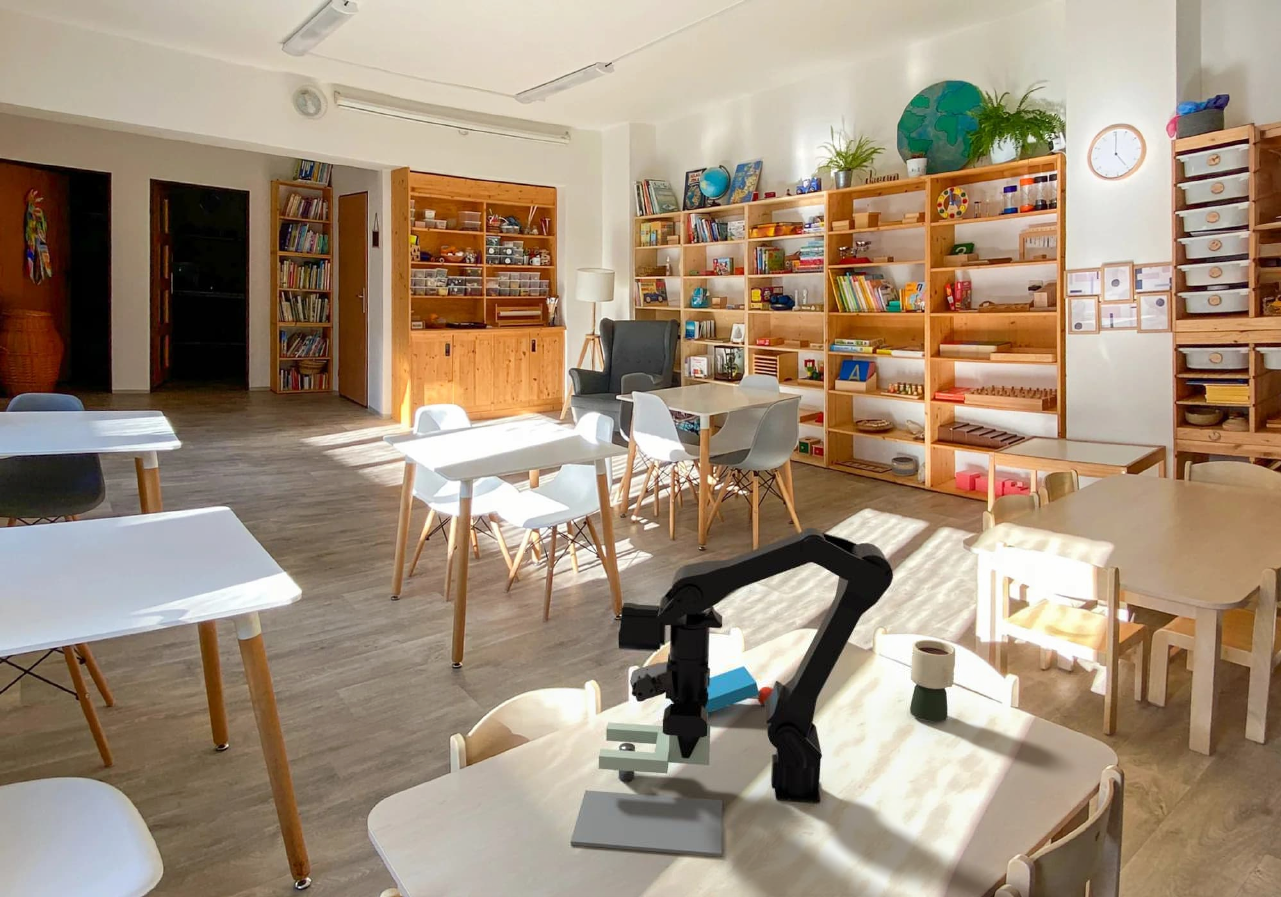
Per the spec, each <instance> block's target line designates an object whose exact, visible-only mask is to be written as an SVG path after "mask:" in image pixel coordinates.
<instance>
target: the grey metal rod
mask: <svg viewBox="0 0 1281 897" xmlns="http://www.w3.org/2000/svg"><path fill="white" fill-rule="evenodd" d="M618 750H623V751H636V746H635V744H633V743H632V742H622V743H621V744H619V746H618ZM635 772H636V771H623V770H618V779H619V781H622V782H624V783H628V782H629V783H630V782H632V781H634V780H635V775H636V774H635Z"/></svg>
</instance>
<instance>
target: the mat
mask: <svg viewBox="0 0 1281 897" xmlns="http://www.w3.org/2000/svg"><path fill="white" fill-rule="evenodd" d="M722 839H723V800H721V799H710V798H709V799H708V798H707V799H706V798H695V797H694V798H693V797H681V796H679V797H678V796H667V795H656V794H655V795H654V794H641V793H640V794H639V793H629V792H628V793H625V792H613V791H611V792H610V791H600V790H588V789H587V790H584V794H583V798H582V801H581V804H580V808H579V811H578V816H577V819H576V821H575V825H574V829H573V833H572V836H571V839H570V845H571V846H585V847H593V848H594V847H596V848H597V847H598V848H607V849H610V848H611V849H620V850H631V851H645V852H646V851H647V852H658V853H670V854H682V855H693V856H694V855H695V856H705V857H706V856H707V857H718V858H721V857H722V854H723V853H722V851H723V848H722V846H723V843H722V841H723V840H722Z"/></svg>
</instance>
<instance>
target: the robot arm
mask: <svg viewBox="0 0 1281 897" xmlns="http://www.w3.org/2000/svg"><path fill="white" fill-rule="evenodd" d="M810 563H813V564H814V565H815V564H816V565H818V566H820V567H821V568H823V569H826V570H827V571H829V572H830V573H833V575H835V576H837V577H838V581H837V586H836V587H837V588H836V591H835V595H834V598H833V600H832V603H831V604H830V606H829V608H828V610H827V612H826V614H825V616H824V618H823V619H822V622H821V623H820V626H819V628H818V629H817V631H816V633H815V634H814V637H813V639H812V640H811V643H810V645H809V646H808V649H807V650H806V652H805V655H804V656H803V658H802V659H801V662H800V664H799V665H798V668H797V669H796V671H795V673H794V675H793V676H792V678H791V679H790V680H789V681H787V682H786V683H785V684H783V683H781V682H779V681H778V680H776V681H774V685H773V688H772V689H773V690H772V693H771V695H770V696H769V697H768V698H767V699H766V700H765V706H764V710H765V722H766V729H767V737H768V739H769V742H770V744H771V745H772V746H773V747H774V748H775V750H776V752H775V754H774V753H773V754H772V755H771V767H770V768H771V771H770V772H771V773H770V781H771V782H770V784H771V788H772V789H773V790H774V798H775V799H776V800H780V801H792V802H793V801H794V802H807V803H820V802H821V793H820V781H821V780H820V776H821V761H822V760H821V759H822V757H823V754H822V749H821V744H820V739H819V734H818V730H817V726H816V725H815V723H814V716H815V711H816V708H817V707H816V705H817V700H818V698H819V695H820V694H821V692H822V690H823V688H824V686H825V684H826V682H827V680H828V678H829V677H830V675H831V673H832V672H833V670H834V668H835V666H836V664H837V662H838V660H839V658H840V656H841V654H842V653H843V650H844V649H845V647H846V644H847V643H848V642H849V640H850V638H851V636H852V634H853V632H854V630H855V628H856V626H857V625H858V623H859V621H860V619H861V617H863V615H864V614H865V613H866V612H868V611H869V609H871V608H872V607H874V606H875V605H876V604H877V603H878V602H879V600H880V599H881V598H882V597H883V596H884V594H885V593H886V592H887V590H888V589H889V588H890V587H891V585H892V582H893V580H894V573H893V569H892V566H891V564H890V563H889V561H888V559H887V557H886V556H885V554H884V553H883V551H882V550H881V549H880V548H879V547H878V546H877V545H875V544H872V543H868V542H864V543H863V542H860V543H855V542H853V541H851V540H848V539H847V538H843V537H839V536H836V535H832V534H829V533H825V532H823V531H821V530H820V529H818V528H813V527H808V528H805V529H803V530H802V531H800V532H799V533H796V534H793V535H791V536H788V537H785V538H783V539H780V540H777V541H774V542H772V543H769V544H767V545H764V546H760V547H758V548H755V549H753V550H750V551H748V552H745V553H741V554H739V555H736V556H734V557H732V558H727V559H722V560H705V561H701V562H695V563H689V564H685V565H683V566H681V567H679V568H678V569H677V570H676V571H675V573H674V576H673V578H672V583H671V587H670V588H669V590H667V592H665V594H664V595H663V596H662V598H661V599H660V602H659V605H656V604H655V605H651V604H637V603H634V602H624V603H622V606H621V618H620V626H619V630H618V634H617V635H618V637H617V639H618V649H619V650H620V651H621V650H622V651H637V652H638V651H641V652H643V651H644V652H654V653H655V652H658V650H661V645H662V646H666V640H667V626H670V629H669V630H670V632H669V636H670V637H669V653H668V656H667V661H664V662H657V663H653V664H650V665H645V666H643V667H638V668H636V669H634V670H633V671H632V673H631V674H630V675H631V676H630V680H629V682H630V686H631V688H632V689H631V690H632V691H631V696H633V697H634V698H635V700H636V702H640V703H641V702H644V701H646V700H649V699H652V698H656V697H657V696H662V695H663V694H665V699H666V700H667V699H668V700H670V701H671V702H672V703H670V704H669V705H667V706H666V708H664V710H663V717H662V718H663V719H662V726H663V733H664V734H665V735H674V736H677V738H678V742H679V747H680V751H681V756H682V758H687V759H688V758H690V756H691V754H692V752H693V750H694V748H695V746H696V744H697V742H698V740H699V738H700V737H705V736H707V726H708V724H709V723H708V722H709V721H708V720H709V717H708V716H709V713H708V711H707V710H706V709H705V707H706V705H707V702H708V695H709V693H708V692H707V690H708V687H709V684H710V678H711V668H710V667H709V660H710V659H709V658H710V654H709V653H710V652H709V651H710V629H721V628H723V615H722V614H720V613H719V612H718V611H717V610H715V608H714V606H715V605H717V604H719V603H720V602H721V601H722V600H724V599H725V598H726V597H728V596H729V595H730V594H732V593H733V592H735V591H736V590H739V589H741V588H744V587H747V586H749V585H753V584H755V583H757V582H760V581H763V580H765V579H769V578H771V577H774V576H777V575H780V574H783V573H785V572H788V571H791V570H794V569H796V568H799V567H801V566H805V565H808V564H810Z"/></svg>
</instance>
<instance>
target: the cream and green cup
mask: <svg viewBox="0 0 1281 897" xmlns="http://www.w3.org/2000/svg"><path fill="white" fill-rule="evenodd" d="M911 653H912V654H911V655H912V656H911V662H910V663H911V665H910V680H911V681H912V682H913V684H915V685H914V689H913V693H912V698H911V702H910V706H909V711H910V714H911V715H912V716H913V717H915V718H916V719H918V720H922V721H928V722H929V721H930V722H938V721H939V722H940V721H946V720H947V719H946V718H948V697H947V696H948V695H947V690H946V688H952V687H953V686H954V679H955V678H954V676H955V673H954V670H955V665H956V648H955V647H954V646H953V645H951V644H949V643H946V642H943V641H941V640H934V639H921V640H916V641H915V642H913V644H912V652H911Z"/></svg>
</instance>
